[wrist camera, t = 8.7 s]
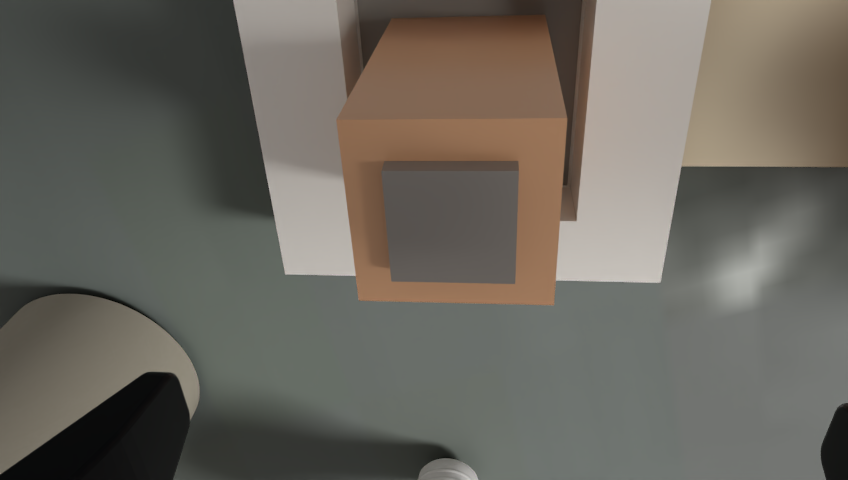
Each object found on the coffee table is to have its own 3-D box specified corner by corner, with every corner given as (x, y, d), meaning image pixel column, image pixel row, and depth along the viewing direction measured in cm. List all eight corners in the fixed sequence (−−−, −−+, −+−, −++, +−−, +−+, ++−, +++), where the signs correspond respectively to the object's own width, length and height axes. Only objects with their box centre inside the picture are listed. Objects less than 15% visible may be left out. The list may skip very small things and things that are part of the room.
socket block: (696, -125, 16) (740, -111, 13) (641, 227, 21) (664, 295, 18) (257, -107, 17) (205, -90, 14) (309, 223, 23) (279, 286, 20)
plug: (545, 14, 17) (569, 127, 11) (538, 156, 19) (554, 317, 13) (391, 18, 18) (331, 128, 11) (401, 156, 20) (355, 312, 13)
